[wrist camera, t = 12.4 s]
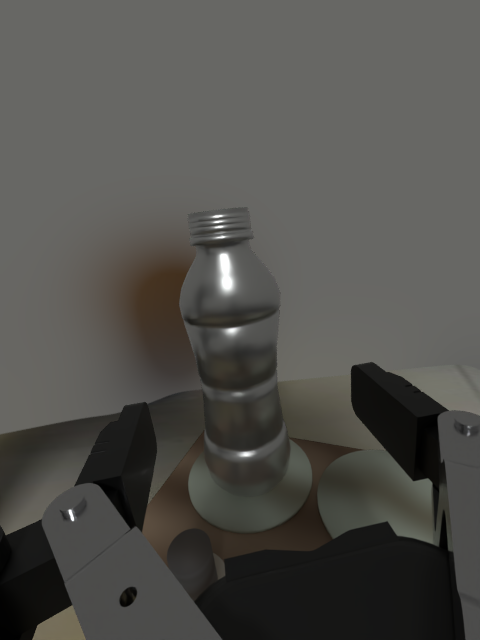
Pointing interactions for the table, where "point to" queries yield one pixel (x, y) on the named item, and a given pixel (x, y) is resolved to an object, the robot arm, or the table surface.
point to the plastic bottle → (235, 353)
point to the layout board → (280, 509)
